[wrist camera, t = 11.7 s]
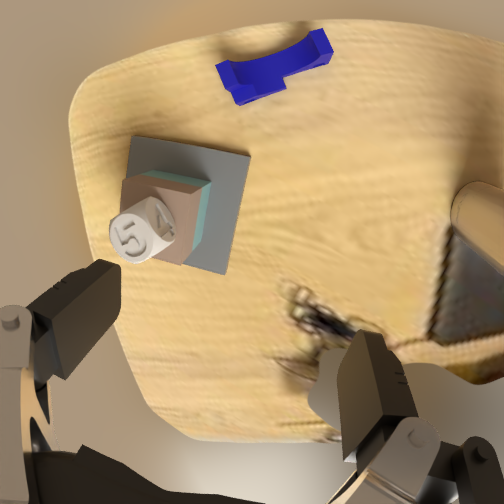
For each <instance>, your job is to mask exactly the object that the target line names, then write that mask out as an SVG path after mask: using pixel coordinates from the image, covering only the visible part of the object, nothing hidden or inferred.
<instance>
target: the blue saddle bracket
mask: <svg viewBox="0 0 504 504" xmlns="http://www.w3.org/2000/svg"><path fill="white" fill-rule="evenodd" d="M333 53H334V51H333V49H332V47H331V45H330V42H329V40H328V38H327V36H326V34H325V32H324V30H323V28H321V29H317V30H313V31H310V32H309V34H308V35H307V36H306V37H305V38H304V39H303V40H302V41H300V42H299V43H297V44H295V45H293V46H291V47H289V48H287V49H285V50H283V51H280V52H278V53H275V54H272V55H269V56H266V57H263V58H259V59H255V60H250V61H244V62H232V61H229V60H226V61H224V62H221V63H219V64H217V65H215V66H216V68H217V71H218V73H219V75H220V78H221V80H222V82H223V85H224V87H225V89H226V90H228V91H229V92H231V94H232V96H233V98H234V101H235V103H236V104H237V105H239V106H241V105H244V104H246V103H249V102H252V101H254V100H257V99H260V98H262V97H265V96H268V95H270V94H273V93H276V92H279V91H282V90H285V89H286V86H285V83H284V81H283V79H282V78H284V77H287V76H290V75H293V74H296V73H299V72H302V71H305V70H308V69H312V68H315V67H318V66H322V65H325V64H328V63H329V61H330V59H331V57H332V55H333Z"/></svg>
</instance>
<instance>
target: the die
mask: <svg viewBox="0 0 504 504" xmlns="http://www.w3.org/2000/svg"><path fill="white" fill-rule="evenodd" d="M109 237H110V241H111V243H112V246H113V248H114V249H115V251H116V252H117V253H118V254H119V255H120V256H121V257H122V258H123V259H125V260H126V261H128V262H131V263H134V264H138V263H141V262H143V261H145V260H147V259H149V258H151V257H152V256H154V255H156V254H157V253H159V252H160V251H162V250H163V249H165V248H166V247H168V246H169V245H170V244H172V243H173V242H174V240H175V237H176V226H175V222H174V219H173V217H172V215H171V213H170V211H169V210H168V208H167V207H166V206H165V204H164V203H163V202H162V201H160V200H159V199H157V198H154V197H151V196H150V197H148V198H146V199H144V200H142V201H140V202H138V203H137V204H135V205H133V206H132V207H130V208H128V209H127V210H125V211H123V212H122V213H120V214H119V215H117V216H116V217H114V218H113V219H111V220H110V224H109Z"/></svg>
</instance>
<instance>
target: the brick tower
mask: <svg viewBox="0 0 504 504" xmlns="http://www.w3.org/2000/svg"><path fill="white" fill-rule="evenodd" d="M250 159H251V157H250V156H246V155H241V154H237V153H232V152H227V151H222V150H217V149H212V148H207V147H202V146H197V145H191V144H186V143H180V142H174V141H168V140H162V139H155V138H149V137H142V136H132V138H131V145H130V152H129V159H128V167H127V175H126V179H124V180H123V181H122V191H121V202H120V213H122V212H123V211H125V210H127V209H128V208H130V207H132V206H133V205H135V204H137V203H138V202H140V201H142V200H144V199H146V198H148V197H150V196H151V197H154V198H157V199H159V200H160V201H162V202H163V203H164V204H165V206H166V207H167V208H168V210H169V211H170V213H171V215H172V217H173V219H174V222H175V226H176V237H175V240H174V242H173V243H172V244H170V245H169V246H168V247H166V248H165V249H163V250H162V251H160V252H159V253H157V254H156V255H154V256H152V258H155V259H159V260H162V261H166V262H169V263H173V264H176V265H180V266H181V264H185V265H189V266H192V267H196V268H200V269H203V270H207V271H211V272H214V273H218V274H222V275H225V274H226V271H227V267H228V262H229V257H230V252H231V247H232V242H233V238H234V233H235V228H236V224H237V219H238V214H239V210H240V205H241V200H242V196H243V191H244V187H245V182H246V177H247V173H248V168H249V164H250Z"/></svg>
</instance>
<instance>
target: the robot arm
mask: <svg viewBox="0 0 504 504" xmlns="http://www.w3.org/2000/svg"><path fill="white" fill-rule="evenodd" d="M451 224H452V228H453V231H454V233H455V235H456V236H457V237H458V238H459V240H461V241H462V242H463V243H465V244H466V245H467V246H468V247H469V248H471V249H472V250H473V251H474V252H475V253H477V254H478V255H479V256H480V257H481V258H483V259H484V260H485V261H486V262H487V263H489V264H490V265H491V266H492V267H493V268H494V269H496V270H497V271H498V272H499V273H500V274H501V275H502V276H503V277H504V190H503V189H500V188H498V187H495V186H492V185H490V184H487V183H484V182H480V181H475V182H471V183H468V184H467V185H466V186H464V187H463V188H462V189H461V190H460V191H459V192H458V194H457V196H456V197H455V200H454V202H453V205H452V209H451ZM120 308H121V267H120V266H119V265H118V264H115V263H112V262H109V261H106V260H102V259H98V260H96V261H95V262H94V263H92V264H91V265H90V266H88V267H87V268H85V269H84V268H82V269H80V270H77V271H74V272H71V273H70V274H68V275H67V276H66V277H64V278H63V279H61V281H60V282H57V283H56V284H55V285H53V288H50V289H48V290H47V291H46V292H44V293H43V294H42V295H41V296H39V297H38V298H37V299H36V300H34V301H33V302H32V303H31V304H29V305H28V306H27V307H22V306H19V305H9V306H4V307H2V308H0V504H265V503H258V502H253V501H247V500H242V499H237V498H231V497H227V496H223V495H218V494H196V493H181V492H171V491H166V490H164V489H162V488H160V487H158V486H156V485H155V484H153V483H152V482H150V481H148V480H147V479H145V478H144V477H142V476H141V475H139V474H137V473H136V472H135V471H133V470H132V469H130V468H129V467H127V466H126V465H124V464H123V463H121V462H119V461H116V460H114V459H112V458H110V457H107V456H105V455H103V454H101V453H99V452H97V451H95V450H92V449H91V448H89V447H87V446H84V445H83V444H82V446H81V447H80V449H79V451H78V453H72V452H66V451H60V448H59V445H58V442H57V439H56V436H55V431H54V423H53V414H52V404H51V392H50V391H51V390H50V382H49V379H50V377H51V376H52V375H53V374H54V375H56V376H58V377H60V378H62V379H64V380H66V379H67V378H68V377H69V375H70V374H71V373H72V372H73V370H74V369H75V368H76V367H77V365H78V364H79V363H80V362H81V361H82V360H83V358H84V357H85V356H86V355H87V353H88V352H89V351H90V350H91V349H92V347H93V346H94V345H95V344H96V343H97V341H98V340H99V339H100V338H101V337H102V336H103V334H104V333H105V332H106V331H107V330H108V329H109V327H110V326H111V325H112V324H113V323H114V322H115V320H116V319H117V317H118V315H119V312H120ZM404 374H405V373H404V370H403V367H402V365H401V362H400V361H399V359H398V358H397V357H396V356H395V354H394V353H393V352H392V351H389V350H387V347H386V344H385V341H384V338H383V336H382V334H380V333H376V332H371V331H366V330H361V329H360V330H358V332H357V333H356V335H355V336H354V339H353V341H352V343H351V345H350V347H349V349H348V351H347V353H346V355H345V357H344V358H343V360H342V363H341V364H340V367H339V370H338V375H337V388H338V398H339V409H340V419H341V420H340V421H341V434H342V449H343V461H344V462H356V464H357V470H355V471H354V472H353V473H352V475H351V476H350V477H349V478H348V479H347V480H346V482H345V483H344V484H343V485H342V486H341V487H340V489H339V490H338V491H337V492H336V493H335V494H334V495H333V497H331V499H330V500H329V501H328V502H327V503H326V504H451V503H452V502H453V501H454V500H456V499H457V498H459V503H460V504H504V478H503V474H502V472H501V468H500V464H499V461H498V458H497V455H496V452H495V450H494V448H493V447H492V445H491V444H490V443H489V442H488V441H487V440H485V439H484V438H481V437H477V436H474V437H470V438H468V439H467V440H466V441H465V442H464V443H463V444H462V445H461V446H456V445H452V444H449V443H445V442H443V441H440V436H439V434H438V432H437V430H436V429H435V428H434V426H433V425H431V424H430V423H429V422H428V421H426V420H424V419H422V418H419V416H418V413H417V410H416V407H415V404H414V401H413V397H412V394H411V391H410V388H409V385H407V384H408V382H407V379H406V376H404Z"/></svg>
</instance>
